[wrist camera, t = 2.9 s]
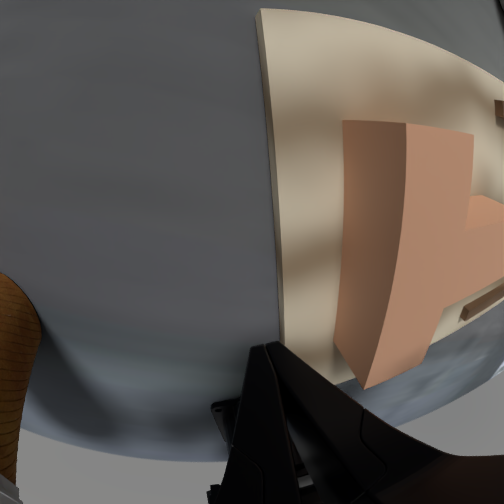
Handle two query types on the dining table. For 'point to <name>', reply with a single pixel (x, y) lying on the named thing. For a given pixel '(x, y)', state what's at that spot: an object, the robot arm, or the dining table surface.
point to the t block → (408, 242)
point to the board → (332, 157)
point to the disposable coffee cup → (14, 377)
